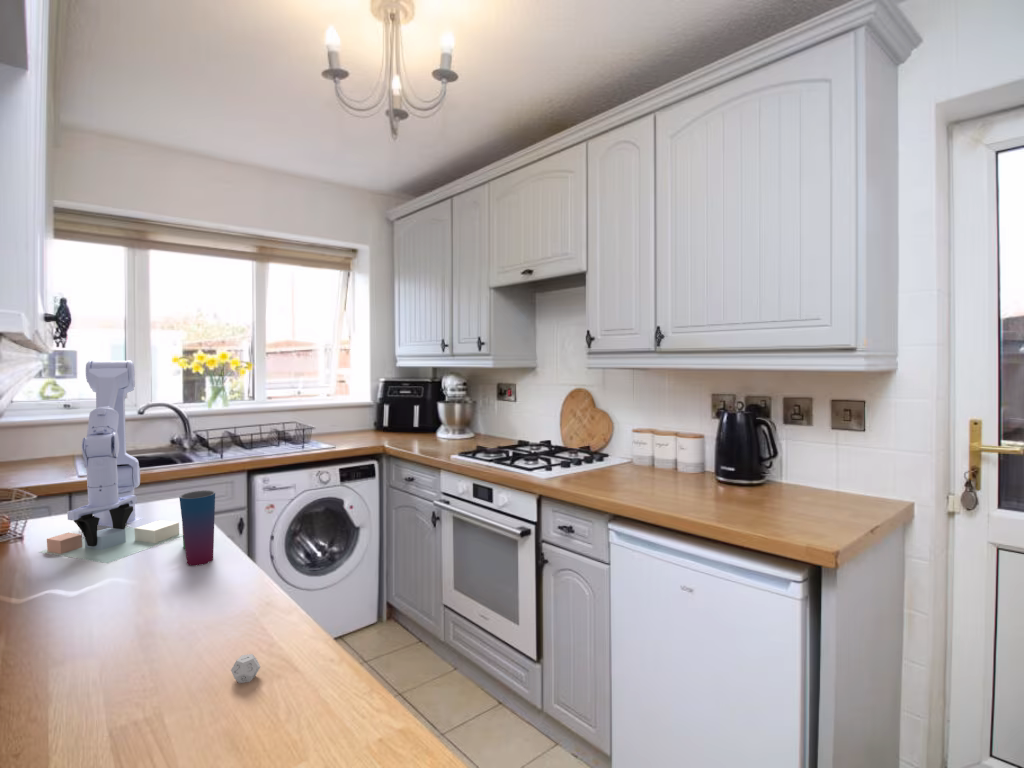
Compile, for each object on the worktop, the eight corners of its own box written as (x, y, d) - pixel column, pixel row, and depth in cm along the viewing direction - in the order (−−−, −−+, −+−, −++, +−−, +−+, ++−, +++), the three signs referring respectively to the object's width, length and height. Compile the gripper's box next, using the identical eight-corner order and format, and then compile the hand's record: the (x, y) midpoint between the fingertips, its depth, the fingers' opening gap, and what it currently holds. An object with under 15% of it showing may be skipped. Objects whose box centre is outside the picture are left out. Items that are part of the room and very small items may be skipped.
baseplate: (38, 554, 122) (38, 551, 122) (121, 528, 141) (121, 526, 140) (107, 565, 116) (107, 563, 116) (185, 536, 134) (185, 534, 134)
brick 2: (85, 547, 125) (84, 534, 125) (109, 539, 130) (108, 527, 130) (102, 549, 124) (101, 537, 123) (125, 541, 129) (125, 529, 129)
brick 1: (47, 551, 123) (46, 538, 122) (68, 544, 127) (68, 532, 127) (61, 553, 121) (60, 540, 121) (82, 546, 126) (81, 534, 125)
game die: (230, 676, 76) (229, 656, 76) (259, 668, 78) (258, 648, 78) (232, 689, 73) (231, 668, 73) (261, 681, 75) (261, 660, 75)
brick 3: (134, 540, 130) (134, 528, 130) (159, 531, 136) (159, 520, 136) (154, 543, 128) (154, 530, 128) (179, 534, 134) (178, 522, 134)
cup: (222, 560, 118) (219, 493, 117) (187, 570, 113) (184, 500, 112) (211, 553, 123) (209, 488, 122) (177, 561, 118) (175, 494, 117)
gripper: (81, 493, 118) (84, 554, 119) (144, 478, 132) (147, 533, 133) (59, 491, 120) (62, 550, 121) (124, 477, 134) (126, 530, 135)
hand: (105, 541), depth 127 cm, fingers closed on brick 2, 5 cm apart
